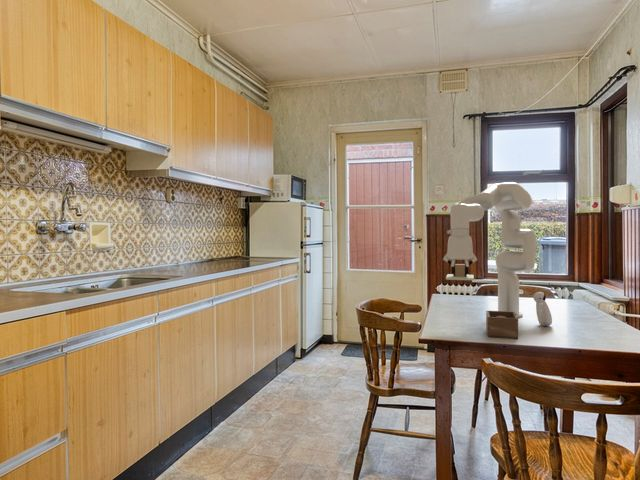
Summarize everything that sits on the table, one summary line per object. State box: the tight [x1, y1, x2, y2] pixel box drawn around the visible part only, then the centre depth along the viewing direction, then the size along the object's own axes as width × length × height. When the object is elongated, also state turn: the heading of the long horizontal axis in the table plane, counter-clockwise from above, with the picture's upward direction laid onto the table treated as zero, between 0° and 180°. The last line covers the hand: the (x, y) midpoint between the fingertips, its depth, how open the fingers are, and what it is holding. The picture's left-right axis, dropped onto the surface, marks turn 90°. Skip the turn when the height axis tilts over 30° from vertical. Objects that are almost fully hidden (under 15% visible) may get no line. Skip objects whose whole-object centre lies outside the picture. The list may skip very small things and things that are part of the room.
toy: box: [533, 291, 553, 327], centre depth 188 cm, size 11×7×15 cm, turn 168°
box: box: [485, 310, 519, 340], centre depth 175 cm, size 14×11×8 cm
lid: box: [445, 263, 475, 281], centre depth 183 cm, size 14×11×6 cm
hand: (460, 275), depth 182 cm, fingers closed on lid, 4 cm apart
